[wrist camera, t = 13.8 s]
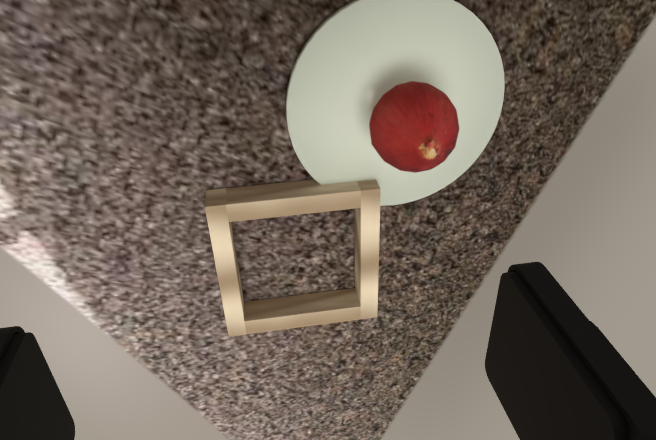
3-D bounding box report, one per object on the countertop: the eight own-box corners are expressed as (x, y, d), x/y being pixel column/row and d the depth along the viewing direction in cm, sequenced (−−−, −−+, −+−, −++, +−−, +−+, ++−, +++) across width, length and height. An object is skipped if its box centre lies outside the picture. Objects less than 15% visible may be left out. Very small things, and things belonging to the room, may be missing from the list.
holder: (206, 190, 40) (204, 206, 38) (373, 173, 42) (380, 188, 39) (229, 316, 47) (228, 336, 45) (370, 298, 49) (377, 317, 46)
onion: (454, 93, 38) (500, 138, 31) (406, 157, 40) (440, 211, 33) (390, 51, 36) (427, 90, 29) (343, 122, 38) (367, 172, 31)
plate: (276, -5, 34) (277, -2, 33) (514, -20, 35) (521, -17, 34) (293, 209, 42) (294, 215, 41) (483, 188, 44) (488, 194, 43)
